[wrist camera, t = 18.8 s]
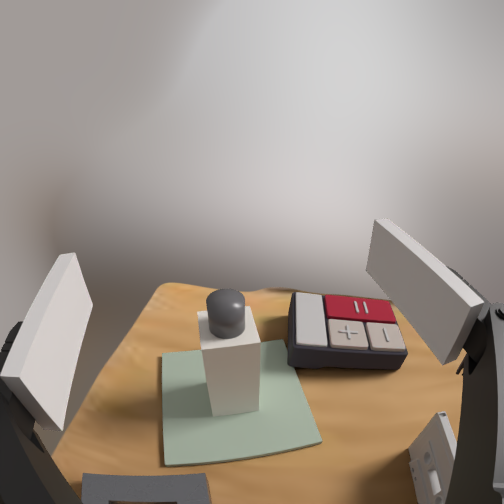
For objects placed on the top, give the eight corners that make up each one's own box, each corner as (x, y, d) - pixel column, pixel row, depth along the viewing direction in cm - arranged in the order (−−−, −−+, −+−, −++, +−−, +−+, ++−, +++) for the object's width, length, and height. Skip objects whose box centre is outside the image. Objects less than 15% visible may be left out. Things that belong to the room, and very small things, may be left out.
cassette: (403, 448, 26) (432, 411, 22) (418, 445, 26) (448, 408, 22) (423, 542, 16) (465, 523, 12) (439, 536, 16) (483, 515, 12)
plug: (249, 376, 36) (249, 280, 29) (258, 410, 31) (261, 315, 25) (207, 382, 35) (194, 285, 28) (212, 416, 31) (197, 323, 24)
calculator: (411, 350, 34) (293, 342, 35) (398, 373, 36) (286, 366, 37) (391, 297, 44) (292, 287, 44) (382, 319, 46) (288, 310, 46)
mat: (282, 342, 42) (282, 338, 41) (321, 443, 28) (322, 441, 28) (163, 356, 39) (162, 353, 39) (166, 466, 25) (164, 464, 25)
